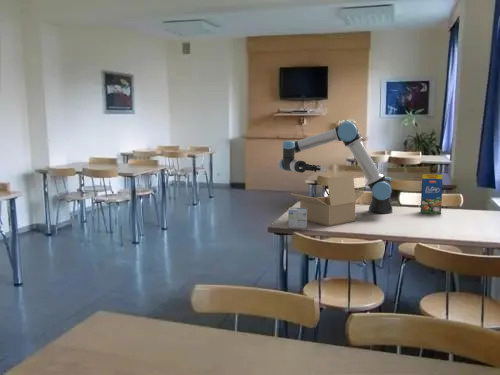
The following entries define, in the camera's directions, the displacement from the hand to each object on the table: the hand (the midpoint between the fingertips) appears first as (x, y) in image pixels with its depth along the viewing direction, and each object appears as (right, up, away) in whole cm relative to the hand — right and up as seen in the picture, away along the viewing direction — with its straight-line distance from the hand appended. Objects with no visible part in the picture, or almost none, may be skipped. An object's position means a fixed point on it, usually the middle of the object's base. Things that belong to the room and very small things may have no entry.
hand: (325, 169), depth 293 cm
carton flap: (+8, -12, -9) cm, 17 cm away
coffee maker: (+14, -24, +50) cm, 57 cm away
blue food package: (+72, -27, +24) cm, 81 cm away
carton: (+2, -31, +3) cm, 31 cm away
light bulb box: (-18, -33, -14) cm, 40 cm away
